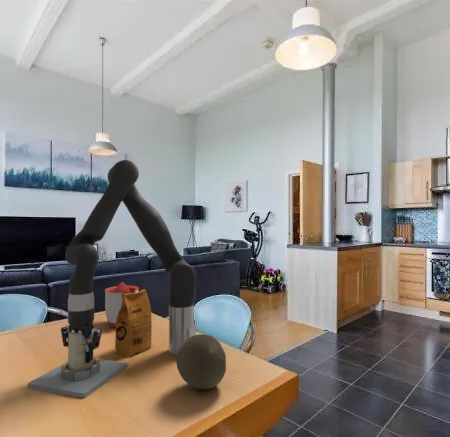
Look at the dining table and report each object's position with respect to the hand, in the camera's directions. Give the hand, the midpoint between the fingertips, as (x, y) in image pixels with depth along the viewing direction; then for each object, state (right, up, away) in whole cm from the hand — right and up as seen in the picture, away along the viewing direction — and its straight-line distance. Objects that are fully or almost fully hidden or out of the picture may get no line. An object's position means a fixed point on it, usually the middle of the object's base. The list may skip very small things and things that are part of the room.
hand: (80, 361), depth 99 cm
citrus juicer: (-3, -6, +51) cm, 51 cm away
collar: (0, -4, 0) cm, 4 cm away
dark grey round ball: (+38, -5, -8) cm, 40 cm away
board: (0, -5, 0) cm, 5 cm away
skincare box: (0, -3, 0) cm, 3 cm away
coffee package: (+10, -5, +21) cm, 24 cm away
